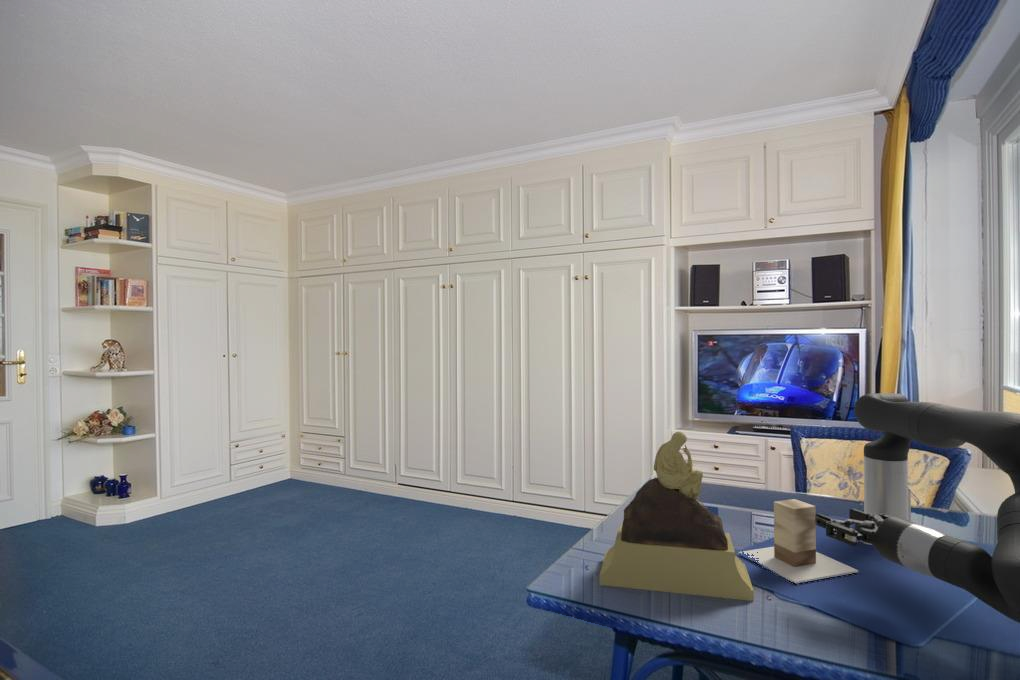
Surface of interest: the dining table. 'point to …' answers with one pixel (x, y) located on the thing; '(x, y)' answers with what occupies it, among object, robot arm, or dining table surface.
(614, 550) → the seated figure statue
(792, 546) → the two-tone block
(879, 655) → the dining table surface
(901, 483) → the robot arm
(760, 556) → the off-white mat
